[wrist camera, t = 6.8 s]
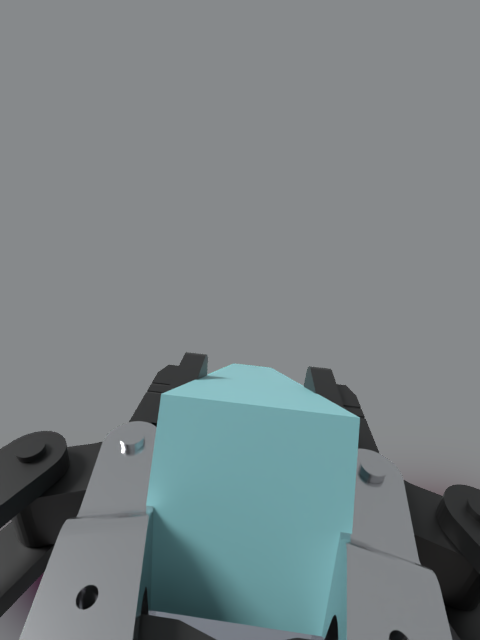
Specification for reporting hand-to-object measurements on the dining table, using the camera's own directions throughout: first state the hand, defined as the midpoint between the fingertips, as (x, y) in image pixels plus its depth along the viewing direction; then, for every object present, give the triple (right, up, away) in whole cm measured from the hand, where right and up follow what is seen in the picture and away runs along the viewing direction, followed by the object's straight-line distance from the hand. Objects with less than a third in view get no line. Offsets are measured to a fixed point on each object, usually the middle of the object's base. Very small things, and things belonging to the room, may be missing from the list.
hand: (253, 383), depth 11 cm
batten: (0, -4, +6) cm, 7 cm away
